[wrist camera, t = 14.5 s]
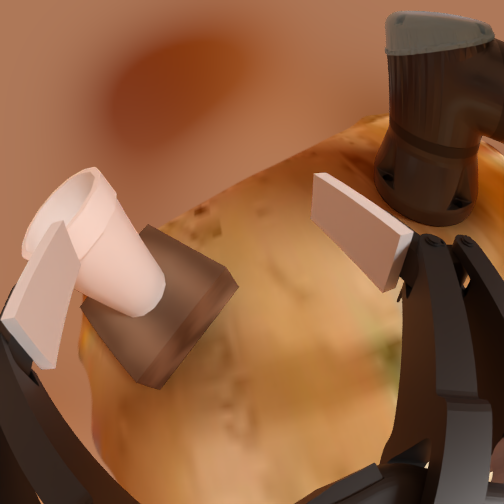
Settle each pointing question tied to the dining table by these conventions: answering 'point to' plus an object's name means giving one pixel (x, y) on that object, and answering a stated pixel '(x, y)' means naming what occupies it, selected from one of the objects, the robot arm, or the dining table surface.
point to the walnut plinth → (165, 311)
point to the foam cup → (101, 244)
